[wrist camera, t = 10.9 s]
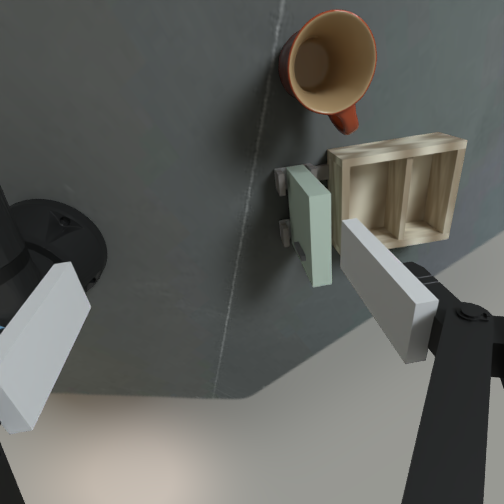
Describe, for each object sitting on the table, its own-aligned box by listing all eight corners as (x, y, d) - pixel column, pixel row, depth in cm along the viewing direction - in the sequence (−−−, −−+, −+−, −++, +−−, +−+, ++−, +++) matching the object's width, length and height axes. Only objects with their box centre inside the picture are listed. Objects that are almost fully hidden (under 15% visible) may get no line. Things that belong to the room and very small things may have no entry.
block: (288, 243, 52) (308, 288, 41) (281, 167, 46) (303, 197, 35) (306, 240, 52) (331, 284, 41) (303, 164, 46) (331, 193, 36)
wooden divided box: (281, 246, 53) (289, 265, 47) (273, 157, 46) (281, 169, 40) (424, 222, 53) (448, 238, 48) (438, 132, 47) (467, 140, 41)
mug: (257, 49, 39) (271, 44, 30) (323, 6, 38) (359, -13, 29) (299, 140, 45) (322, 158, 36) (358, 105, 44) (397, 115, 35)
